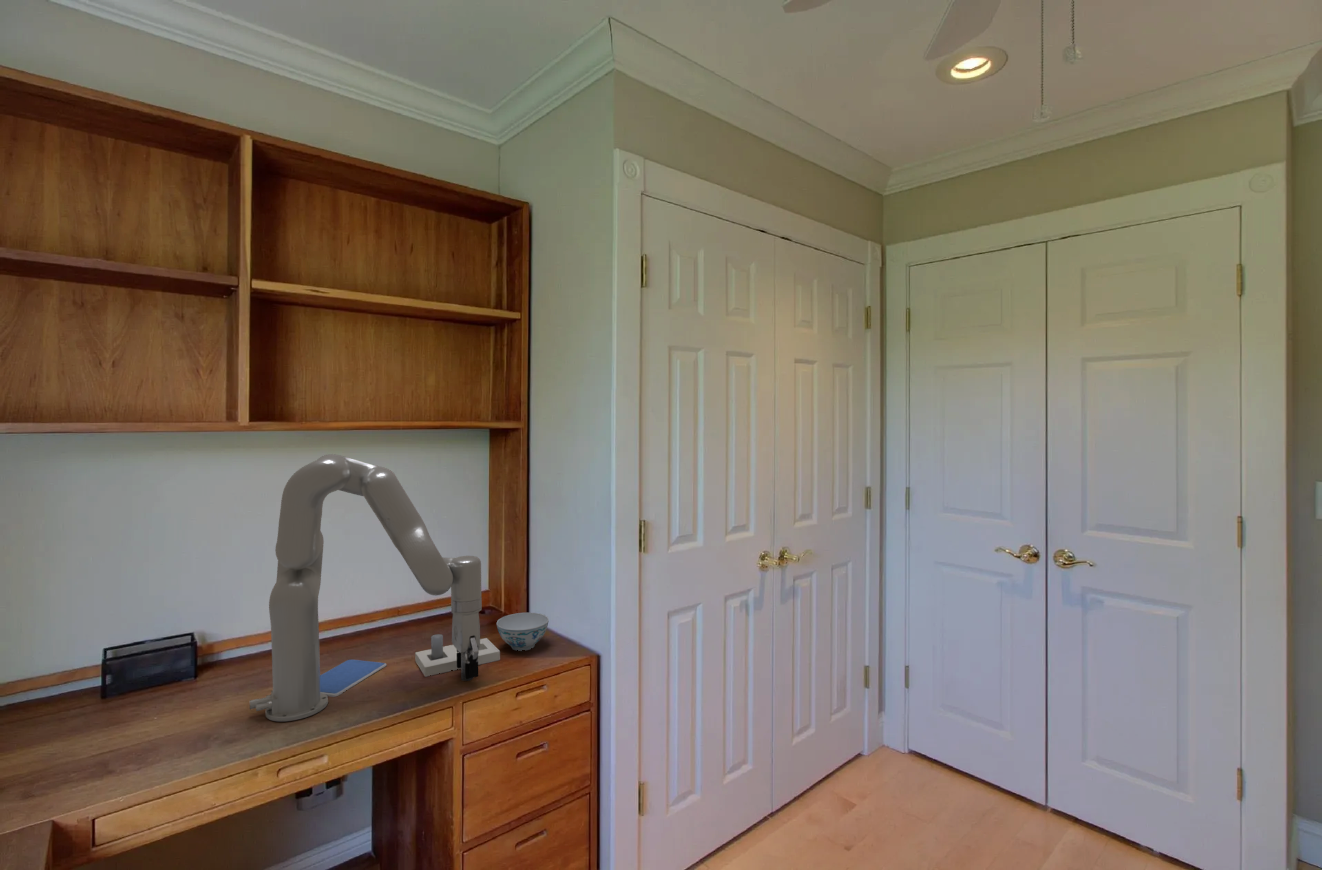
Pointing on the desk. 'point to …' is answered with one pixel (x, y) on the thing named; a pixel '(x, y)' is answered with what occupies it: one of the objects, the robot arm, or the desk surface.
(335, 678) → the tablet computer
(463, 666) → the steel pin
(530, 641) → the chinaware
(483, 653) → the pin board
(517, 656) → the desk surface
